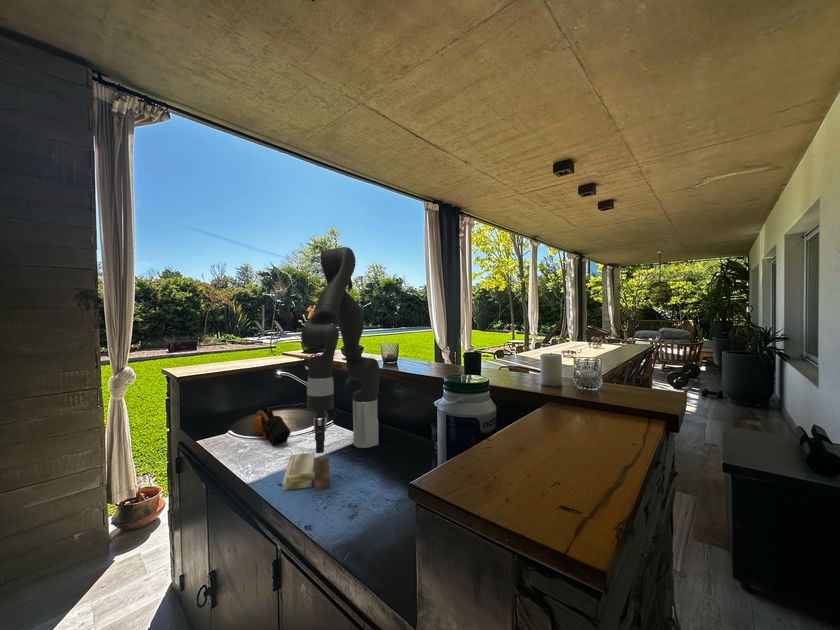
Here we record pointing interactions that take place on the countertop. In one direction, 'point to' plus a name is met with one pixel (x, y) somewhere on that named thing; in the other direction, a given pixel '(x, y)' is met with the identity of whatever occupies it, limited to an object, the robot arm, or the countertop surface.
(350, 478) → the countertop surface
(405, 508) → the countertop surface
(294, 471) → the board
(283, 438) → the tool
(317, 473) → the gauge
